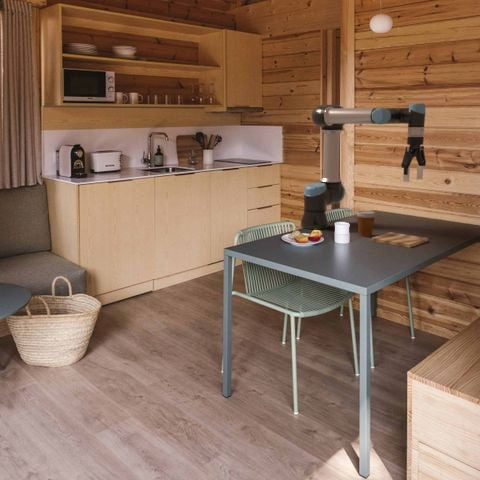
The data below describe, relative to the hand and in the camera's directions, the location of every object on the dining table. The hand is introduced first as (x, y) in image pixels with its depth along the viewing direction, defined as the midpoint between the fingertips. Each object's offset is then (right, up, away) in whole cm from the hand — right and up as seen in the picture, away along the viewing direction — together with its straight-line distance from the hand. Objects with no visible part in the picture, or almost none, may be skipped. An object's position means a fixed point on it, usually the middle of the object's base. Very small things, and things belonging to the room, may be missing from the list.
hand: (412, 180), depth 271 cm
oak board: (-8, -30, -4) cm, 31 cm away
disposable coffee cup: (-21, -27, +9) cm, 36 cm away
